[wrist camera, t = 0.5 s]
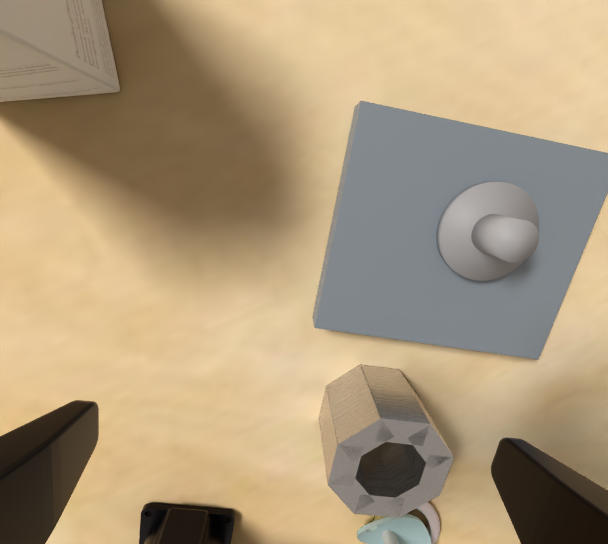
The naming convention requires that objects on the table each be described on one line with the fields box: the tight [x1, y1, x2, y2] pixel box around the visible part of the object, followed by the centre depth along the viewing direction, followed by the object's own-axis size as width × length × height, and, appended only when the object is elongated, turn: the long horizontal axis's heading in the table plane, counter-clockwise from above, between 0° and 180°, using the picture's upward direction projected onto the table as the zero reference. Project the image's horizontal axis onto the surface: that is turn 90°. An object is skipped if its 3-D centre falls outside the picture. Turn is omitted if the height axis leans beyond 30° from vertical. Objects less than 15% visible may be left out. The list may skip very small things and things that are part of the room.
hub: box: [319, 365, 454, 518], centre depth 21 cm, size 6×6×5 cm
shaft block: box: [313, 101, 608, 359], centre depth 18 cm, size 12×14×4 cm
